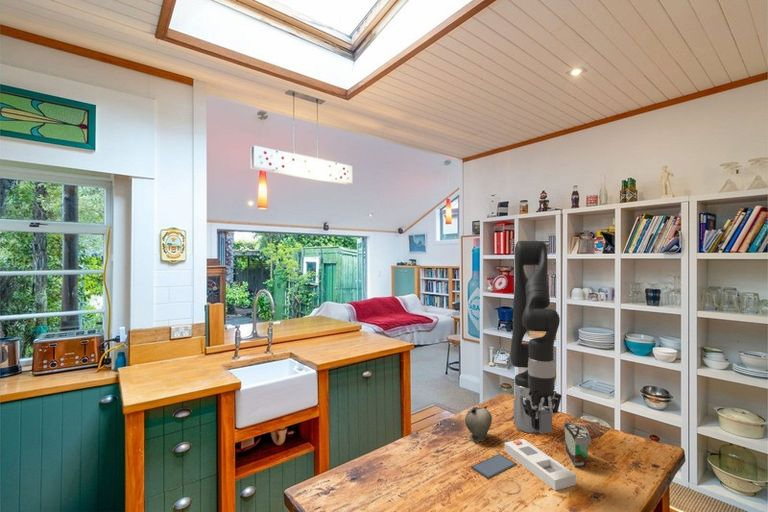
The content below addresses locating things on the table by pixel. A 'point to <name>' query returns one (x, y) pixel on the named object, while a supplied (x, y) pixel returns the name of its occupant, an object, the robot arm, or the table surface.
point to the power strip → (540, 464)
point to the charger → (545, 421)
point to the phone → (493, 466)
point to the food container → (576, 444)
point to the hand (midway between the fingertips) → (541, 427)
